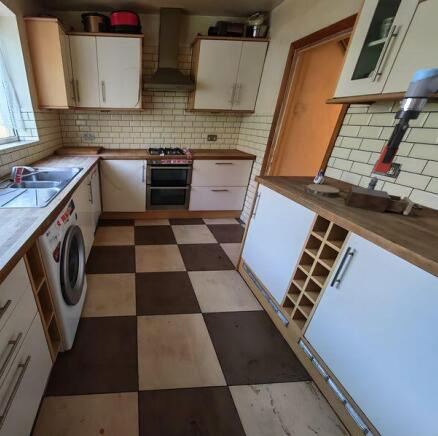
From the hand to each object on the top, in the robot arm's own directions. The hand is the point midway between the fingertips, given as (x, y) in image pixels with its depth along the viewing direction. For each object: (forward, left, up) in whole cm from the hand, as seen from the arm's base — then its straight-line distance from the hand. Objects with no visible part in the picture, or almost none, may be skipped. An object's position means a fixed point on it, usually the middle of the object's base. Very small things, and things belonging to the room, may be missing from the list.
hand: (384, 162), depth 112 cm
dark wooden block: (0, 0, -23) cm, 23 cm away
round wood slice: (+19, -10, -23) cm, 32 cm away
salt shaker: (-3, -21, -23) cm, 31 cm away
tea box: (0, 0, -5) cm, 5 cm away
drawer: (-11, 0, -22) cm, 24 cm away
